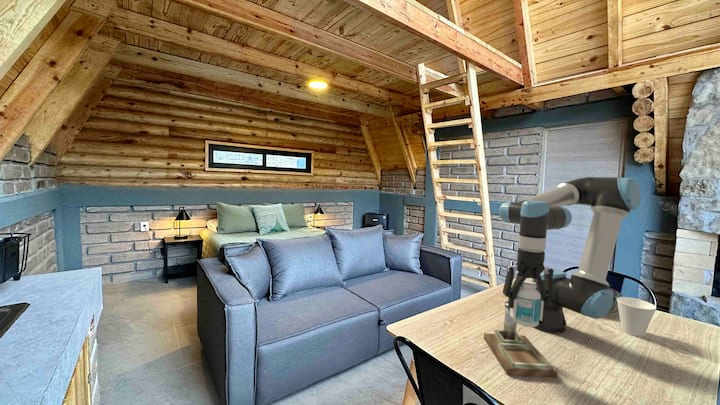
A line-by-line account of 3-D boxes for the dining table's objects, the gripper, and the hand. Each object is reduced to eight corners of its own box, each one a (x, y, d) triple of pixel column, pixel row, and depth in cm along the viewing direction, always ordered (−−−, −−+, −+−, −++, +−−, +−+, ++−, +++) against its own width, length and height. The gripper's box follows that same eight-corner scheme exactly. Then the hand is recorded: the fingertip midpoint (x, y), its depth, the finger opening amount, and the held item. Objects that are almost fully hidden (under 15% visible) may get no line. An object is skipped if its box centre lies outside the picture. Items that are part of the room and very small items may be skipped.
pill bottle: (528, 317, 102) (532, 278, 101) (543, 328, 94) (547, 286, 93) (507, 317, 101) (510, 278, 100) (521, 328, 94) (524, 286, 93)
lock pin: (513, 337, 111) (516, 301, 110) (518, 344, 107) (521, 307, 105) (500, 336, 112) (503, 300, 110) (504, 343, 107) (507, 306, 106)
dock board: (524, 340, 113) (525, 330, 113) (556, 378, 92) (558, 365, 92) (483, 338, 114) (484, 328, 114) (506, 374, 93) (507, 362, 93)
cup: (652, 332, 122) (656, 303, 121) (653, 343, 113) (657, 312, 112) (614, 322, 130) (617, 294, 129) (612, 332, 121) (615, 302, 120)
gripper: (557, 247, 99) (551, 314, 101) (494, 245, 100) (489, 310, 102) (572, 253, 91) (565, 325, 93) (503, 250, 92) (498, 321, 95)
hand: (525, 317), depth 98 cm, fingers closed on pill bottle, 7 cm apart
